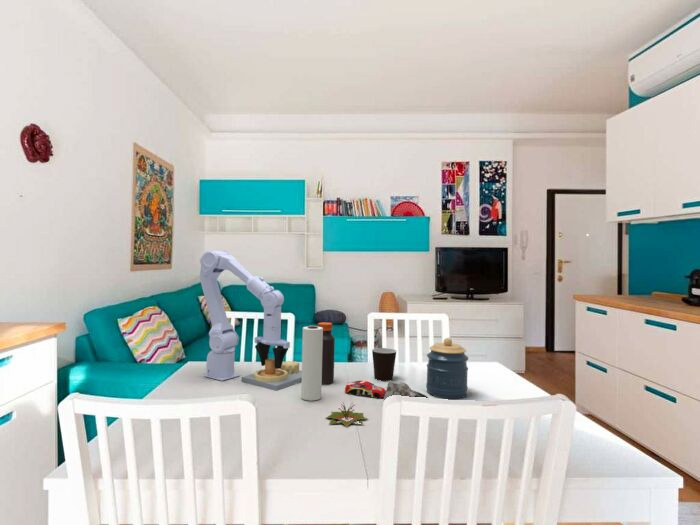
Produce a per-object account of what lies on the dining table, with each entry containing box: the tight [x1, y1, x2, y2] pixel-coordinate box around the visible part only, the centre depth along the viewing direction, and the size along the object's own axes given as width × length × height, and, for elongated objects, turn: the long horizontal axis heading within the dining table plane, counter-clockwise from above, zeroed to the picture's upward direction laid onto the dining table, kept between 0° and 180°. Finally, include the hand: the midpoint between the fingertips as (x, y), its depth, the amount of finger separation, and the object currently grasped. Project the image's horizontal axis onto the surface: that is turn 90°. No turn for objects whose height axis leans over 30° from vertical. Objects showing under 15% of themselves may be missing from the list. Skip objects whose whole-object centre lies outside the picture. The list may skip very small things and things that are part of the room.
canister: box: [425, 337, 469, 400], centre depth 136 cm, size 13×13×18 cm
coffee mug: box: [371, 347, 397, 382], centre depth 152 cm, size 12×9×10 cm
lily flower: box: [325, 402, 368, 428], centre depth 112 cm, size 12×12×5 cm
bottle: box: [317, 321, 336, 386], centre depth 145 cm, size 7×7×20 cm
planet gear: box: [259, 358, 281, 377], centre depth 143 cm, size 7×7×6 cm
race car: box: [344, 380, 387, 399], centre depth 133 cm, size 13×5×4 cm, turn 69°
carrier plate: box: [241, 360, 302, 391], centre depth 147 cm, size 16×19×4 cm
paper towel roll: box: [300, 324, 323, 402], centre depth 129 cm, size 7×6×21 cm
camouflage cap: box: [383, 380, 429, 401], centre depth 124 cm, size 7×11×10 cm
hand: (271, 366), depth 144 cm, fingers open, 6 cm apart
